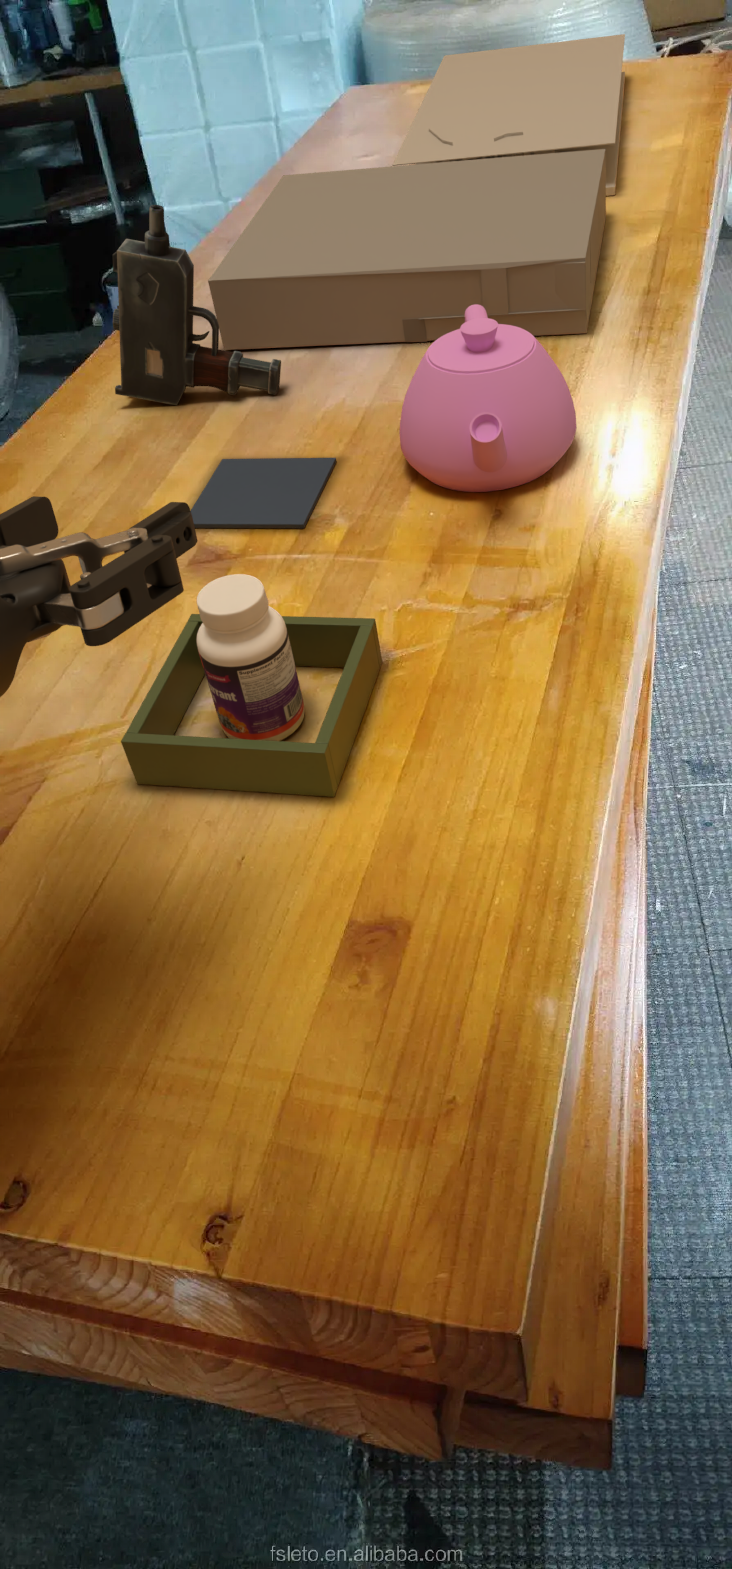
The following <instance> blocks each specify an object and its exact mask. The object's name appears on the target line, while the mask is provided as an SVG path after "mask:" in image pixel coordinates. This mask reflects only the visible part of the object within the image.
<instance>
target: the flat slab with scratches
mask: <svg viewBox="0 0 732 1569" xmlns="http://www.w3.org/2000/svg"><path fill="white" fill-rule="evenodd" d="M625 39H626V33H623V34H614V35H606V36H597V37H589V38H580V39H579V38H578V39H572V40H564V41H556V42H554V41H553V42H546V43H537V44H529V45H522V46H520V45H519V46H513V47H505V48H497V49H495V48H494V49H488V50H487V49H486V50H479V51H471V52H462V53H455V54H446V55H443V58H442V59H441V62H440V64H439V66H438V68H437V70H436V72H435V74H434V76H433V78H432V81H431V83H430V85H429V87H428V89H427V91H426V94H425V95H424V98H422V101H421V104H420V106H419V108H418V109H417V112H416V115H415V116H414V119H413V121H412V123H411V125H410V127H409V128H408V131H407V133H406V136H405V138H404V139H403V142H402V143H401V146H400V147H399V150H398V152H397V154H396V157H395V159H394V161H393V163H392V166H403V165H415V164H427V163H439V162H451V161H464V160H476V159H488V158H500V157H512V156H525V155H537V154H549V153H561V152H573V151H586V150H598V149H606V197H608V196H615V195H616V188H617V177H618V176H617V175H618V165H619V164H618V163H619V152H620V142H621V128H622V117H623V106H624V94H625V84H626V83H625V82H626V71H622V70H623V62H624V50H625V41H626V40H625Z"/></svg>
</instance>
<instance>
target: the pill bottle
mask: <svg viewBox="0 0 732 1569" xmlns="http://www.w3.org/2000/svg"><path fill="white" fill-rule="evenodd" d="M269 603H270V602H269V599H268V595H267V593H266V589H265V586H264V584H263V583H262V581H261V580H260V579H259V578H257V577H255V576H254V575H250V574H244V573H235V574H234V573H233V574H228V575H223V576H220V577H218V578H215V579H212V580H211V581H210V582H208V583H206V585H204V586H203V587H202V588H201V589H200V591H199V592H198V593H197V595H196V605H197V609H198V614H200V618H201V620H202V622H203V623H202V624H201V626H200V628H199V630H198V633H197V647H198V652H199V655H200V658H201V662H202V665H203V668H204V672H205V675H204V676H205V678H206V681H207V684H208V688H209V691H210V694H211V698H212V702H213V704H214V708H215V711H216V715H217V718H218V722H219V724H220V727H221V730H222V731H223V733H224V735H225V736H226V737H227V738H230V739H248V740H266V741H284V740H285V739H287V738H288V737H290V736H291V735H292V734H294V733H295V732H296V731H297V730H298V729H299V727H301V724H302V722H303V720H304V718H305V713H306V712H305V704H304V699H303V694H302V689H301V685H300V681H299V676H298V672H297V666H295V663H294V658H293V654H292V650H291V645H290V641H289V636H288V632H287V628H286V625H285V622H284V620H283V618H282V616H283V615H281V614H280V613H279V612H278V610H276V609H275V608H273V607H272V606H270V605H269Z"/></svg>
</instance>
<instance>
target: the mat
mask: <svg viewBox="0 0 732 1569" xmlns="http://www.w3.org/2000/svg"><path fill="white" fill-rule="evenodd" d="M336 465H337V457H274V458H273V457H270V458H269V457H268V458H265V457H264V458H263V457H262V458H222V459H221V460H220V462H219V464H218V465H217V467H216V469H215V470H214V472H213V473H212V475H211V477H209V478H210V479H208V482H207V483H206V485H205V487H204V488H203V490H202V492H201V493H200V494H199V496H198V498H197V499H196V501H195V503H194V504H193V506H192V508H190V512H191V514H192V518H193V523H194V527H195V529H305V528H306V526H307V523H308V521H309V519H310V517H311V515H312V513H313V511H314V510H315V507H316V505H317V503H318V502H319V499H320V497H321V495H322V492H323V491H324V488H325V487H326V484H327V482H328V480H329V478H330V476H331V475H332V472H333V470H334V468H335V466H336Z"/></svg>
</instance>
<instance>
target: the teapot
mask: <svg viewBox="0 0 732 1569" xmlns="http://www.w3.org/2000/svg"><path fill="white" fill-rule="evenodd" d="M576 413H577V412H576V408H575V404H574V401H573V397H572V393H571V391H570V388H569V385H568V383H567V381H566V379H565V377H564V375H563V374H562V372H561V370H560V369H559V367H558V365H557V364H556V362H555V361H554V359H553V358H552V357H551V355H550V354H549V353H548V351H547V350H546V349H545V347H544V346H543V345H542V343H541V342H540V341H539V340H538V339H537V338H536V336H533V335H532V334H531V333H529V332H528V331H526V330H524V329H522V328H519V327H516V326H512V325H505V324H498V323H497V321H495V320H493V319H489V318H488V317H487V313H486V310H485V308H484V307H483V306H481V305H478V304H475V305H471V306H469V307H468V308H467V309H466V311H465V323H463V324H462V325H461V327H460V329H458V330H455V331H452V332H450V333H447V334H445V335H443V336H442V337H440V338H438V339H437V340H434V341H433V342H432V343H431V344H430V346H428V348H427V349H426V351H425V352H424V354H423V356H422V358H421V359H420V361H419V363H418V365H417V367H416V370H415V371H414V374H413V376H412V377H411V380H410V382H409V385H408V388H407V390H406V393H405V395H404V399H403V403H402V406H401V413H400V421H399V431H398V432H399V444H400V450H401V452H402V455H403V456H404V458H405V460H406V461H407V463H408V464H409V466H411V467H412V468H413V469H414V470H415V471H417V472H418V473H419V474H420V475H421V476H423V477H424V478H426V479H427V480H428V481H429V482H431V483H433V484H435V485H437V486H439V487H441V488H442V487H443V488H445V489H447V490H453V491H458V492H464V493H465V492H468V493H485V492H496V491H502V490H508V489H512V488H515V487H518V486H519V487H520V486H522V485H525V484H527V483H531V482H532V481H534V480H537V479H538V478H540V477H541V476H543V475H545V474H546V473H547V472H549V471H550V470H551V469H552V468H553V467H554V466H555V465H556V463H558V462H559V461H560V460H561V459H562V458H563V456H564V455H565V454H566V453H567V451H568V450H569V448H570V447H571V446H572V443H573V441H574V439H575V436H576V434H577V418H576V417H577V414H576Z"/></svg>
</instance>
